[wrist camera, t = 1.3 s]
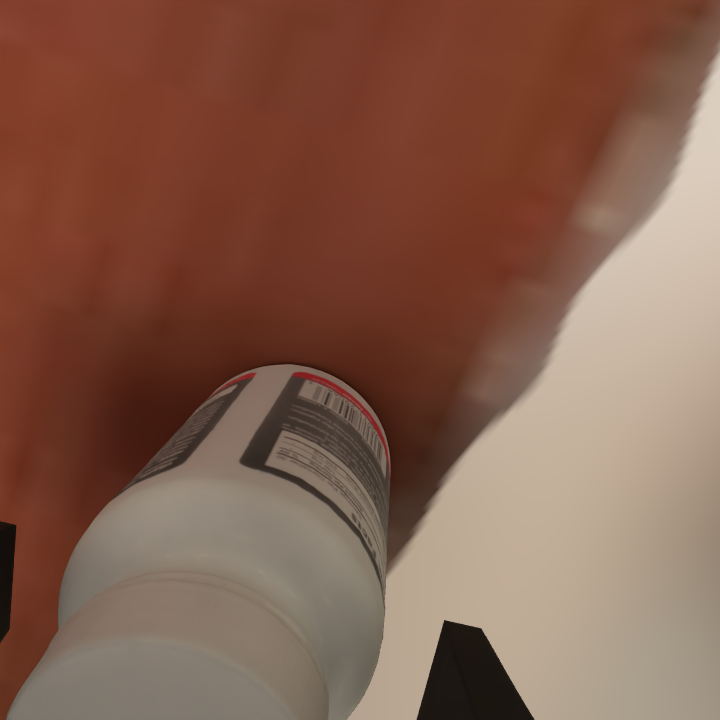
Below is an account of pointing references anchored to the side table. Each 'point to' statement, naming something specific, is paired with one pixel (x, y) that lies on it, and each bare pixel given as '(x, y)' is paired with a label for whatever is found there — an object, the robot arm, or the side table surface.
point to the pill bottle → (231, 567)
